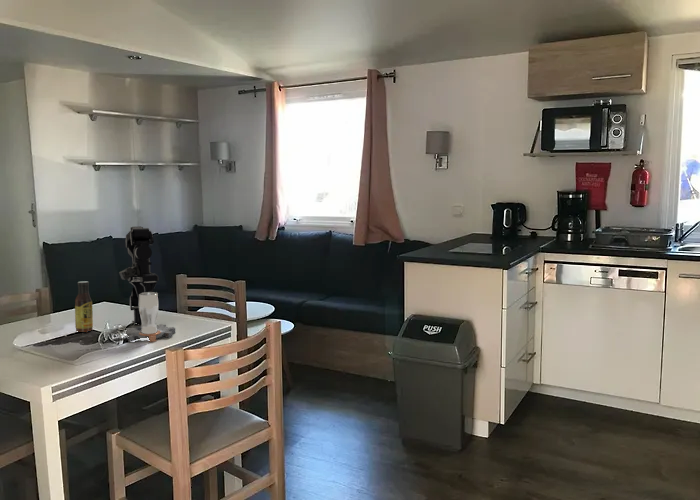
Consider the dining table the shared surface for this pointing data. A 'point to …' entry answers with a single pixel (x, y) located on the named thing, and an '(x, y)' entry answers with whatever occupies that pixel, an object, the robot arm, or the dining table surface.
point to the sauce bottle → (83, 308)
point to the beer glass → (148, 312)
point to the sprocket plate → (162, 333)
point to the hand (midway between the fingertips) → (143, 299)
